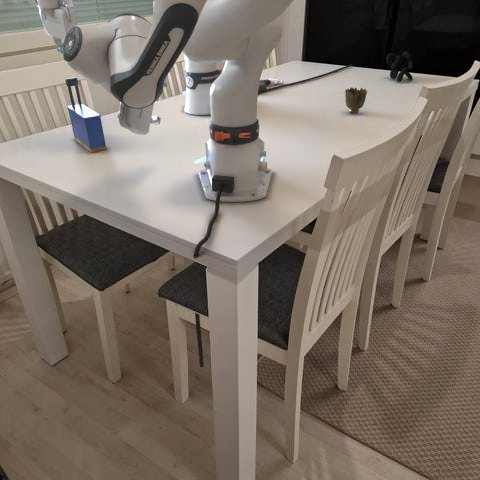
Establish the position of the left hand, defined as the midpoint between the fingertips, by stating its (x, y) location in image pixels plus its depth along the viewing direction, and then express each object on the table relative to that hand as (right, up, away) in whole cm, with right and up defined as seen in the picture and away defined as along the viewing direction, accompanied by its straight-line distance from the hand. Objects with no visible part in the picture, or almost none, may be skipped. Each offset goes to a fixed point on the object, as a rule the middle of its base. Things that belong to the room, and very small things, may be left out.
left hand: (66, 55), depth 127 cm
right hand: (+30, -18, -14) cm, 37 cm away
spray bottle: (+58, +12, +65) cm, 88 cm away
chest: (+4, -23, +9) cm, 25 cm away
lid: (+3, -15, +4) cm, 16 cm away
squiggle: (+122, +19, +73) cm, 143 cm away
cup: (+90, -8, +32) cm, 96 cm away
